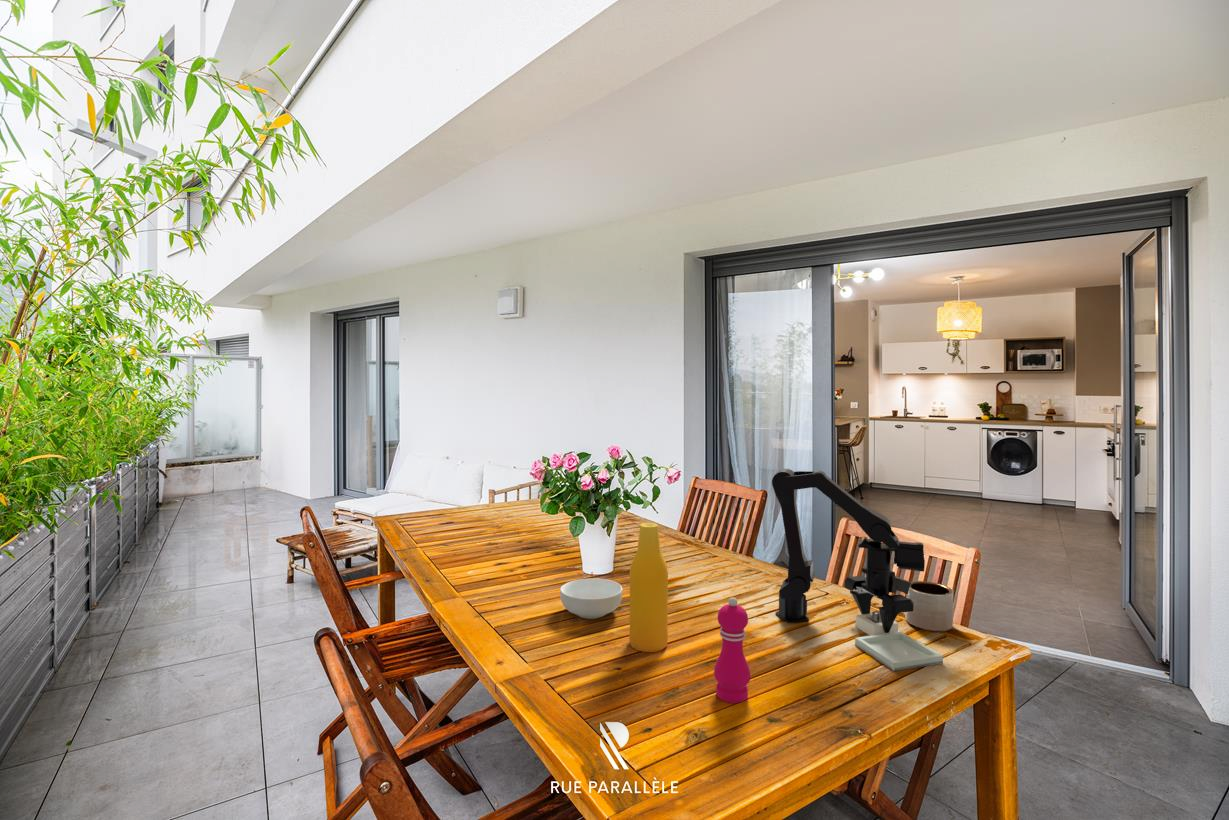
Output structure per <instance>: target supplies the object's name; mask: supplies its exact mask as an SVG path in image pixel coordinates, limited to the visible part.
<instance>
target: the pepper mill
mask: <svg viewBox="0 0 1229 820" xmlns="http://www.w3.org/2000/svg"><path fill="white" fill-rule="evenodd" d="M727 601H728V603H727V604H725V605H724V604H723V605H722V606H721V607H720V608H719V610H718V613H717V622H718V624H719V626H720V628H719V632H720V633H719V636H720V637H721V642H722V644H721V650H720V653H719V656H718V657H717V659H716V662H715V665H714V669H713V677H714V678H715V679H714V680H716V682H717V683H716V686H715V688H716V689H715V690H716V691H715V694H716V697H718V699H720V700H721V701H724V702H727V703H732V704H738V703H743V702H745V701H746V700H748V697H749V688H748V684H749V683H750V681H751V669H750V667H749V663H748V661H747V659H746V657H745V653H744V647H743V645H744V639H746V629H745V628H746V627H747V626H748V624H749V616H748V613H747V611H746V609H745V608H744V607H743V606H741V605H740V604H738V600H737V598H736V597H733V596H731V597H729V599H728V600H727Z"/></svg>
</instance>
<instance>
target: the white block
mask: <svg viewBox="0 0 1229 820" xmlns="http://www.w3.org/2000/svg"><path fill="white" fill-rule="evenodd" d="M855 628H857V629H858V630H860V631H862V632H863V633H865V634H867V636H872V635H879V634H887V633H885V632H884V629H883V625H882V621H881V622H880V623H874V622H873V621H872V612H870V614H856V615H855ZM894 632H899V622H897V621H895V620H894V623H893V625H892V627H891V629H890V632H889V633H894Z"/></svg>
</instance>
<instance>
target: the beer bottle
mask: <svg viewBox="0 0 1229 820" xmlns="http://www.w3.org/2000/svg"><path fill="white" fill-rule="evenodd" d="M638 532H639V534H638V542H637V548H636V552H635V554H634V556H633V558H632V561H631V564H630V568H629V630H628V631H629V632H628V633H629V634H628V637H629V638H628V639H629V643H630V646H631V647H632V648H633V649H634V650H637V651H639V652H643V653H656V652H659V651H663V649H665V648H667V645H668V641H669V632H668V631H669V630H668V629H669V628H668V626H669V624H668V623H669V622H668V621H669V619H668V617H669V612H668V611H669V610H668V609H669V607H668V606H669V595H668V594H669V590H668V589H669V587H668V586H669V571H668V570H669V569H668V564H667V562H666V560H665V558H664V555H663V553H662V551H661V550H662V549H661V544H660V535H659V534H660V533H659V525H658V524H657V523H655V522H643V523H640V524H639V531H638Z"/></svg>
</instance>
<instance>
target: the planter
mask: <svg viewBox="0 0 1229 820" xmlns="http://www.w3.org/2000/svg"><path fill="white" fill-rule="evenodd" d="M910 582H911V585H910V588H909V591H908V594H905V595H906V596H905V597H907V598H909V599H911V600H912V601H913V602H914V609H913V611H911V612H905V620H906V621H907V623H908V624H910V625H911V626H913V627H915V628H918V629H919V628H920V629H919V630H924V631H927V632H935V633H939V632H941V633H943V632H947V631H950V630H951V629H952V628H953V626H954V590H953V588H951V587H949V586H947V585H944V584H942V583H938V582H931V581H927V580H926V581H923V580H916V581H910Z"/></svg>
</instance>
